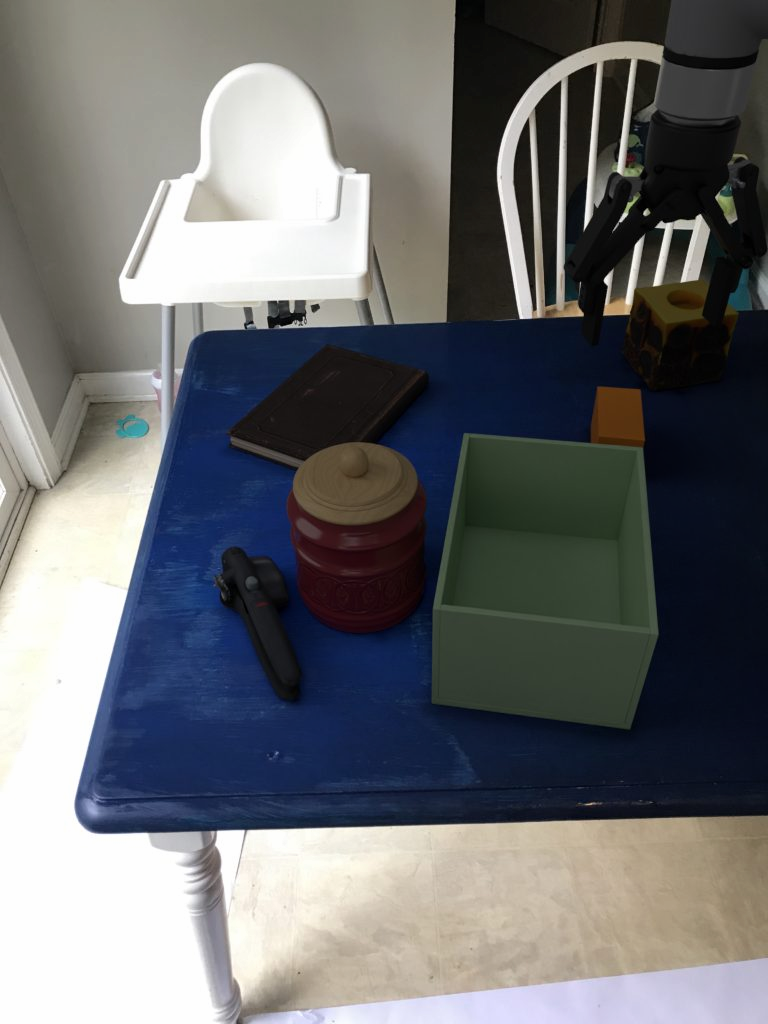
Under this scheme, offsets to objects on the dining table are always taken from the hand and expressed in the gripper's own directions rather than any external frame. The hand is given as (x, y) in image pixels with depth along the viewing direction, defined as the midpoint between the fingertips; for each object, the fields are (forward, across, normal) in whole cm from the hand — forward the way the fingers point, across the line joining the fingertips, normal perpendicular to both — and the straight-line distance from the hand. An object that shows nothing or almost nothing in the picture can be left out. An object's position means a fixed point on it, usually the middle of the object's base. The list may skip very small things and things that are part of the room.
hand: (651, 330), depth 86 cm
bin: (+18, +18, +20) cm, 32 cm away
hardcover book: (+18, +32, -18) cm, 41 cm away
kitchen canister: (+18, +34, +12) cm, 40 cm away
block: (+18, 0, -2) cm, 18 cm away
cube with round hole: (+18, -15, -17) cm, 29 cm away
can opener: (+18, +44, +16) cm, 50 cm away
